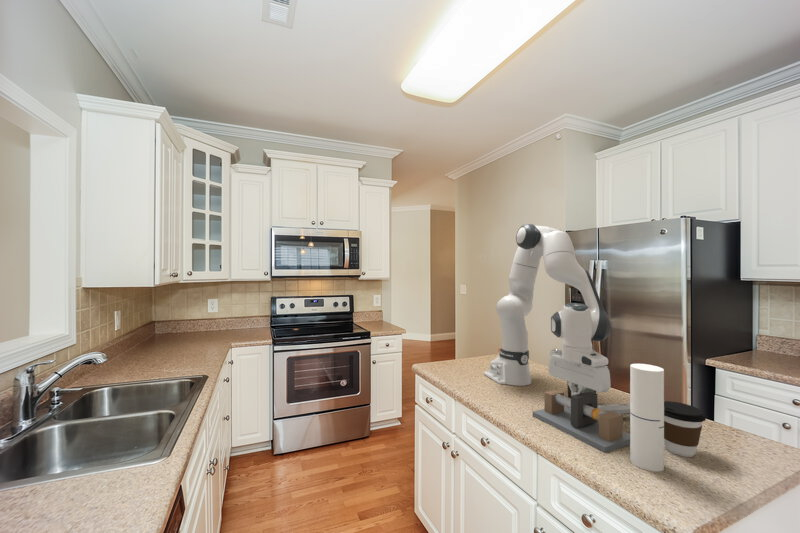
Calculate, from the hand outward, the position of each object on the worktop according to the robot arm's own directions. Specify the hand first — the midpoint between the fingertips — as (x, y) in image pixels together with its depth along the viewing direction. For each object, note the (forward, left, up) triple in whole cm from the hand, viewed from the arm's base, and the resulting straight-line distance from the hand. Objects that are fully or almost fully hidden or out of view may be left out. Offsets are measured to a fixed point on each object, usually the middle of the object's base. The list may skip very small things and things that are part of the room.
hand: (577, 397), depth 111 cm
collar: (+3, 0, -7) cm, 8 cm away
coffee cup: (+22, +13, -10) cm, 27 cm away
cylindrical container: (+22, -2, -10) cm, 24 cm away
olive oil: (-14, +20, -10) cm, 26 cm away
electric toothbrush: (+2, +19, -10) cm, 22 cm away
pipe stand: (+1, 0, -9) cm, 9 cm away
